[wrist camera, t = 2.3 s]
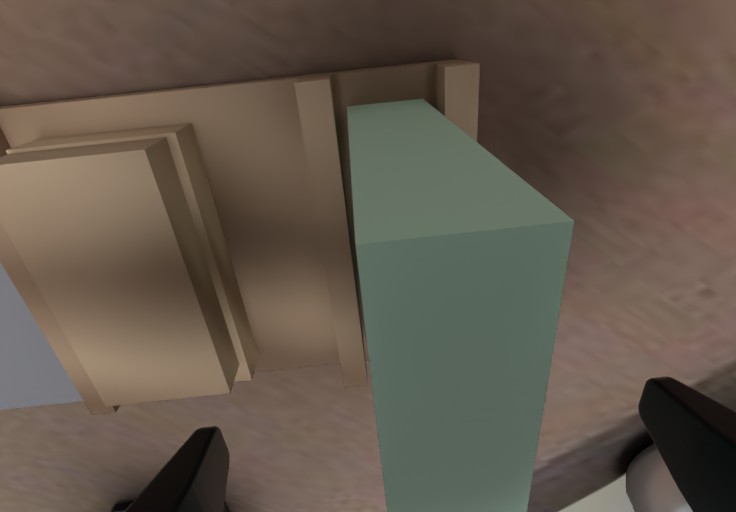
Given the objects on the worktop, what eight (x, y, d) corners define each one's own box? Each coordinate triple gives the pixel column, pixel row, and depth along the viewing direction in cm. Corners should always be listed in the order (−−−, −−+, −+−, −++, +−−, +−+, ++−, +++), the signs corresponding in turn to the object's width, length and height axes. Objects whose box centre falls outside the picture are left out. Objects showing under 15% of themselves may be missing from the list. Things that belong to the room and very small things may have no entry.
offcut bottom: (258, 354, 18) (252, 380, 17) (145, 366, 18) (130, 392, 17) (191, 122, 13) (175, 132, 12) (38, 138, 13) (5, 150, 12)
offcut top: (239, 364, 16) (230, 393, 15) (125, 376, 16) (105, 406, 15) (166, 136, 12) (144, 149, 11) (10, 153, 12) (-30, 167, 11)
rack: (454, 336, 20) (468, 374, 17) (120, 372, 20) (92, 415, 17) (458, 58, 14) (480, 63, 12) (-16, 108, 14) (-84, 122, 12)
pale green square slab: (429, 336, 18) (509, 618, 9) (372, 342, 18) (401, 629, 9) (423, 98, 13) (575, 220, 5) (346, 106, 13) (355, 243, 5)
